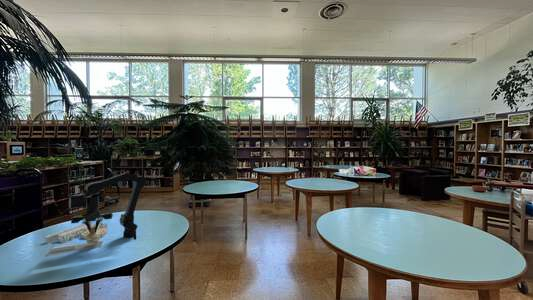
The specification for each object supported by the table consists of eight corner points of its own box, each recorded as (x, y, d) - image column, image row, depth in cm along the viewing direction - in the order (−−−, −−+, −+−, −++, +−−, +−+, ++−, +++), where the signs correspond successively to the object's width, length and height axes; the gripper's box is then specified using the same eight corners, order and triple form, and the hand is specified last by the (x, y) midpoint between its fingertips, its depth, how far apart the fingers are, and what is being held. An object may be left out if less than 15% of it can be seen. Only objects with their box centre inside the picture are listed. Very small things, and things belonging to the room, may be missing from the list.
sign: (89, 221, 175) (125, 224, 168) (89, 227, 175) (125, 229, 169) (43, 237, 145) (84, 241, 139) (43, 244, 145) (84, 248, 139)
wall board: (103, 243, 144) (103, 237, 144) (100, 249, 135) (100, 243, 135) (51, 251, 134) (51, 245, 133) (44, 259, 125) (44, 252, 125)
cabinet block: (99, 239, 142) (99, 225, 142) (97, 242, 136) (97, 228, 136) (89, 240, 139) (88, 226, 139) (86, 244, 134) (86, 230, 134)
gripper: (67, 210, 126) (68, 240, 126) (110, 206, 135) (110, 234, 135) (73, 205, 136) (74, 233, 136) (112, 202, 144) (113, 228, 145)
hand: (93, 232), depth 138 cm, fingers closed on cabinet block
